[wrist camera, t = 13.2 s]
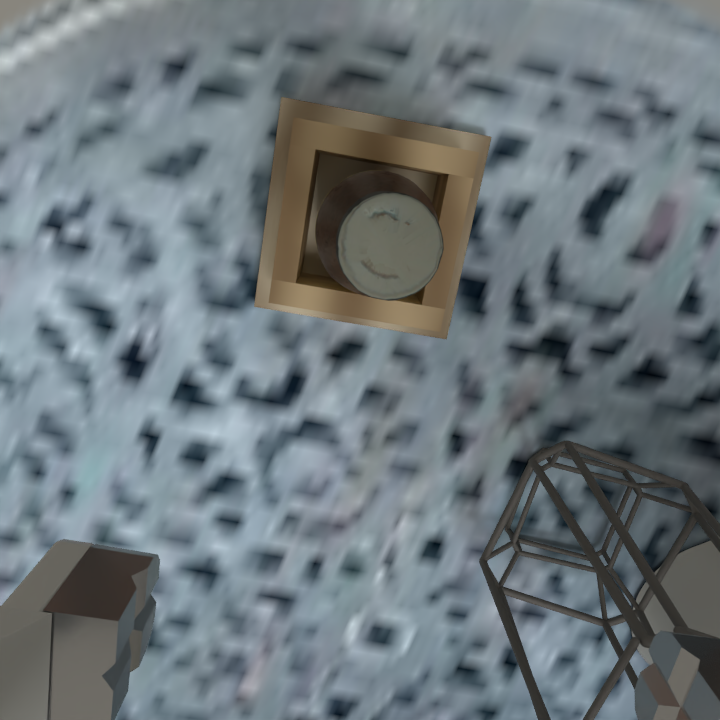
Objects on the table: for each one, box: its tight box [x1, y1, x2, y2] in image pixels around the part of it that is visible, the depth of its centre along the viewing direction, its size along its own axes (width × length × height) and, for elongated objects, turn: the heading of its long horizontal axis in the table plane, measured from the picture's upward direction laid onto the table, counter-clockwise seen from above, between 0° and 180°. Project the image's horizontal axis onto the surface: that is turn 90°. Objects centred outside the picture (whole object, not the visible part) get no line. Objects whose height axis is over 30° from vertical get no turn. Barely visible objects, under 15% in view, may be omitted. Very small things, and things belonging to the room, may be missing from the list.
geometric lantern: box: [479, 441, 720, 720], centre depth 32 cm, size 16×16×35 cm
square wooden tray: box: [254, 97, 491, 339], centre depth 40 cm, size 14×14×6 cm
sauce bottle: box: [315, 170, 444, 301], centre depth 32 cm, size 6×6×20 cm
